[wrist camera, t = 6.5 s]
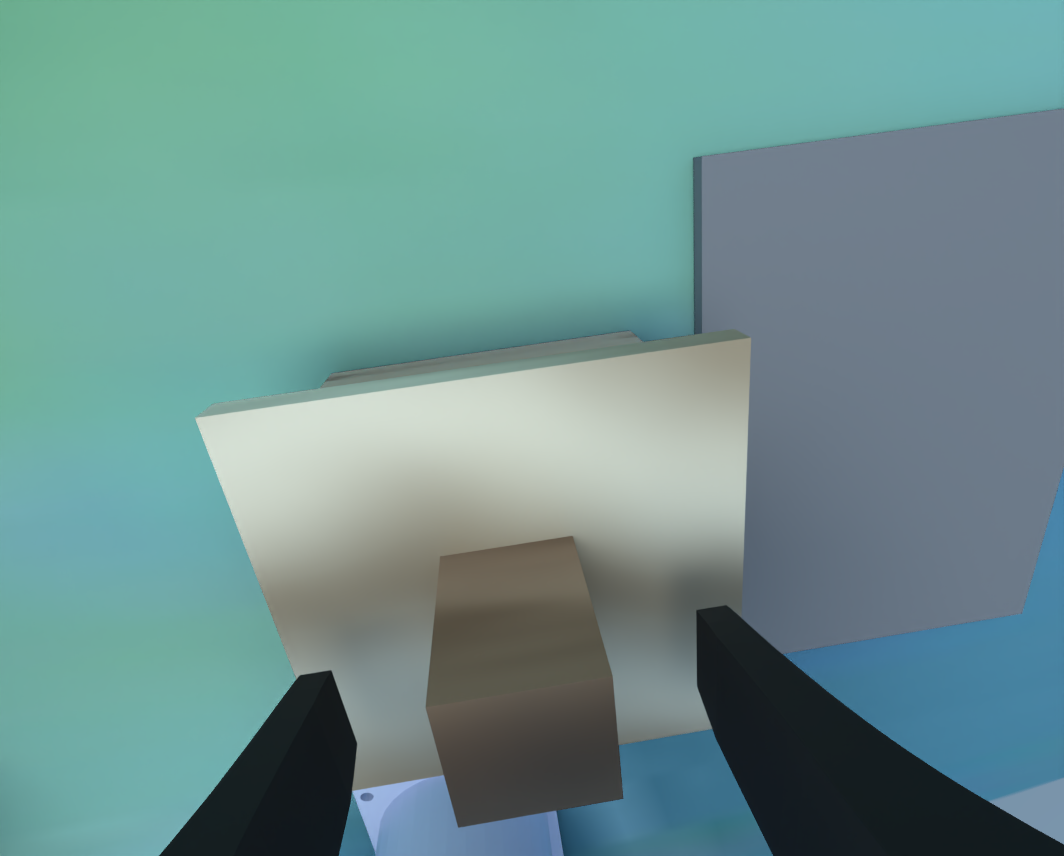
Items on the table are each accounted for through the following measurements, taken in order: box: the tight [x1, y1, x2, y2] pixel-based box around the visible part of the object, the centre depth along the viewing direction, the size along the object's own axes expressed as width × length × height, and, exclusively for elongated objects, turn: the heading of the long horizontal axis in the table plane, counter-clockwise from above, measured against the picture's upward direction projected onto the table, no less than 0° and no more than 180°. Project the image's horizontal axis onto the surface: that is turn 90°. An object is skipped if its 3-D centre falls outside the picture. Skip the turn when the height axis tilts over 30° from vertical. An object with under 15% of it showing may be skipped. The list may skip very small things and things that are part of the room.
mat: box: [694, 109, 1064, 654], centre depth 19 cm, size 18×13×1 cm
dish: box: [320, 331, 643, 388], centre depth 16 cm, size 9×9×5 cm
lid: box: [195, 329, 751, 828], centre depth 12 cm, size 11×11×5 cm
